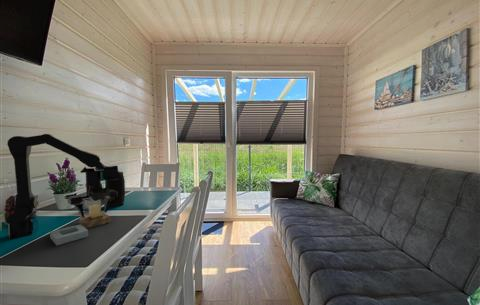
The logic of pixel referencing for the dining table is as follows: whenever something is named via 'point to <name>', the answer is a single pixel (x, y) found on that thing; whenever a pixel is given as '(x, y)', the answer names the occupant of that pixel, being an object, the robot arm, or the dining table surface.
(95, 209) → the brass pin
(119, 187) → the portable speaker
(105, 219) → the walnut mount
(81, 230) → the socket block
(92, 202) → the medicine box
